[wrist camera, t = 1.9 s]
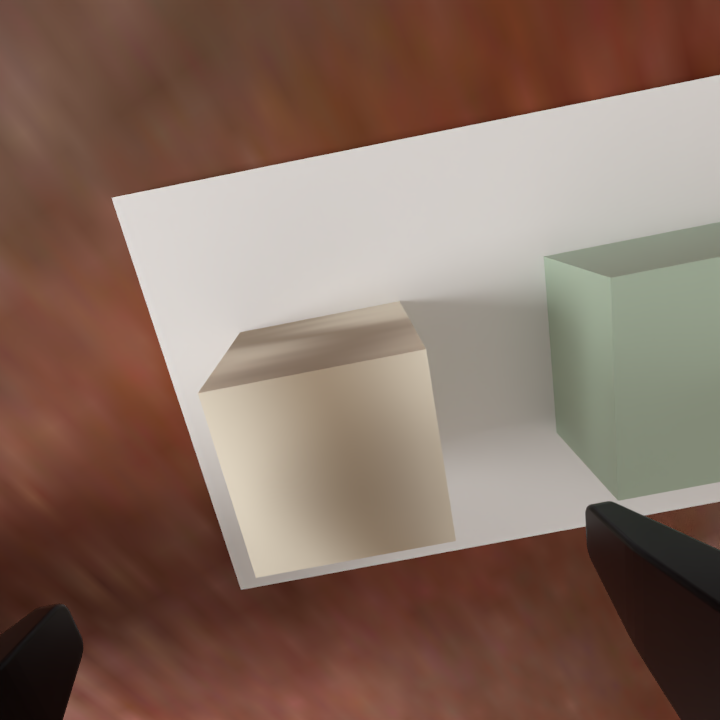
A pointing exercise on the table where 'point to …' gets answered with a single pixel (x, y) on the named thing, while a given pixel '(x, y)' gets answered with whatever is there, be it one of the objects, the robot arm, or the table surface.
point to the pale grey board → (434, 281)
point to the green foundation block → (639, 359)
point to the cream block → (330, 440)
